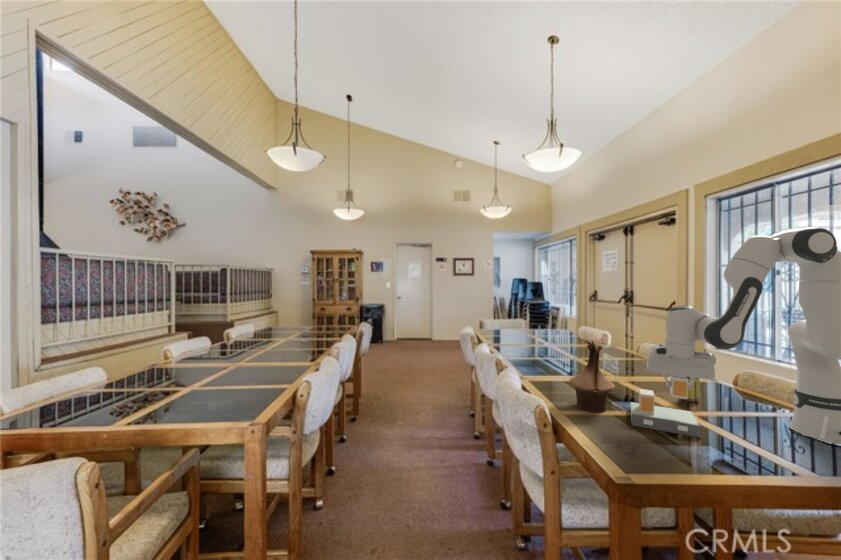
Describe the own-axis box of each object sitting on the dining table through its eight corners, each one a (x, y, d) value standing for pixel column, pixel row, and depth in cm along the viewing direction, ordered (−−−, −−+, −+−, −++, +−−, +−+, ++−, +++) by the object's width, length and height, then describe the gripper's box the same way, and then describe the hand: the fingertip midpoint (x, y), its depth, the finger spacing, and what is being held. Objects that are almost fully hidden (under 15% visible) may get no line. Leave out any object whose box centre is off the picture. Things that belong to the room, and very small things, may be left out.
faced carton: (652, 408, 138) (652, 390, 138) (654, 414, 132) (654, 396, 132) (638, 406, 140) (639, 388, 140) (639, 412, 134) (640, 393, 134)
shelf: (691, 419, 135) (691, 408, 135) (700, 438, 120) (701, 426, 120) (630, 409, 145) (630, 399, 145) (631, 425, 130) (632, 414, 130)
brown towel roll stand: (621, 418, 136) (622, 345, 135) (573, 414, 139) (574, 343, 139) (607, 401, 153) (608, 336, 152) (565, 398, 157) (565, 335, 156)
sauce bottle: (693, 398, 157) (694, 353, 157) (703, 403, 151) (704, 357, 151) (677, 397, 158) (678, 353, 157) (686, 403, 152) (687, 356, 151)
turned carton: (684, 393, 133) (685, 375, 133) (687, 399, 127) (688, 380, 127) (670, 391, 135) (670, 373, 135) (672, 397, 129) (672, 378, 129)
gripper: (713, 351, 128) (712, 389, 129) (646, 345, 138) (645, 380, 139) (718, 355, 123) (717, 395, 123) (647, 348, 133) (647, 385, 133)
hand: (678, 387), depth 131 cm, fingers closed on turned carton, 4 cm apart
